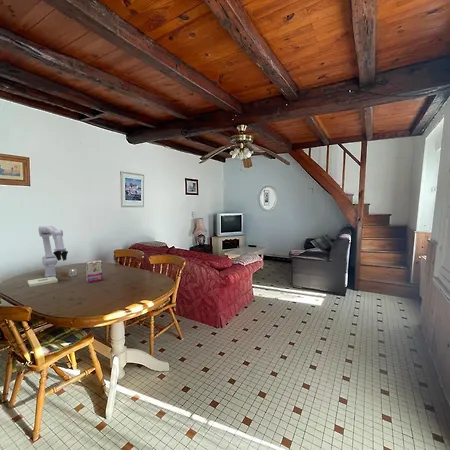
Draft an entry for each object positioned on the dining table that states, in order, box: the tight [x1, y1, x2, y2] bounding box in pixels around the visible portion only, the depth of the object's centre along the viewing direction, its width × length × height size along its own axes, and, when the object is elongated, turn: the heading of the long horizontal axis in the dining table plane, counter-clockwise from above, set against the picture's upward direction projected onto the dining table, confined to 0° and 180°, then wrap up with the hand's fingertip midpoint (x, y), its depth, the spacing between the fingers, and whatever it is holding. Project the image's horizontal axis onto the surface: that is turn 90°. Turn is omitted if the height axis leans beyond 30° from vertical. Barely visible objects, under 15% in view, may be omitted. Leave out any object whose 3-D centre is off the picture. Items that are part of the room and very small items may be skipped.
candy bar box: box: [85, 259, 103, 283], centre depth 201 cm, size 11×5×16 cm, turn 129°
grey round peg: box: [68, 268, 78, 278], centre depth 212 cm, size 6×6×6 cm
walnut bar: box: [59, 271, 69, 282], centre depth 201 cm, size 3×5×6 cm, turn 135°
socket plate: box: [27, 275, 59, 288], centre depth 194 cm, size 12×18×2 cm, turn 135°
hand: (62, 260), depth 195 cm, fingers open, 7 cm apart
